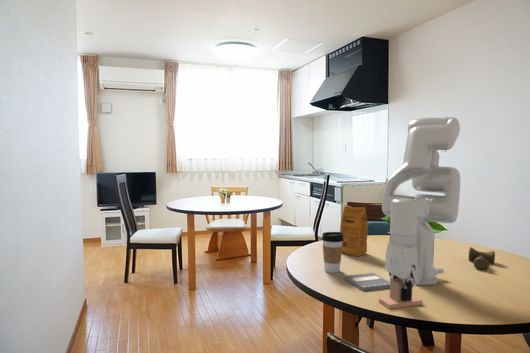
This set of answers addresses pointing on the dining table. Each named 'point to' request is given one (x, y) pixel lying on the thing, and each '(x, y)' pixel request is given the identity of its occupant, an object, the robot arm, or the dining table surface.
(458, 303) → the dining table surface
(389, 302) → the cube on pink base
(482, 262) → the kendama
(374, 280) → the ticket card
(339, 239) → the coffee cup
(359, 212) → the coffee package
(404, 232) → the robot arm
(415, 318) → the dining table surface
